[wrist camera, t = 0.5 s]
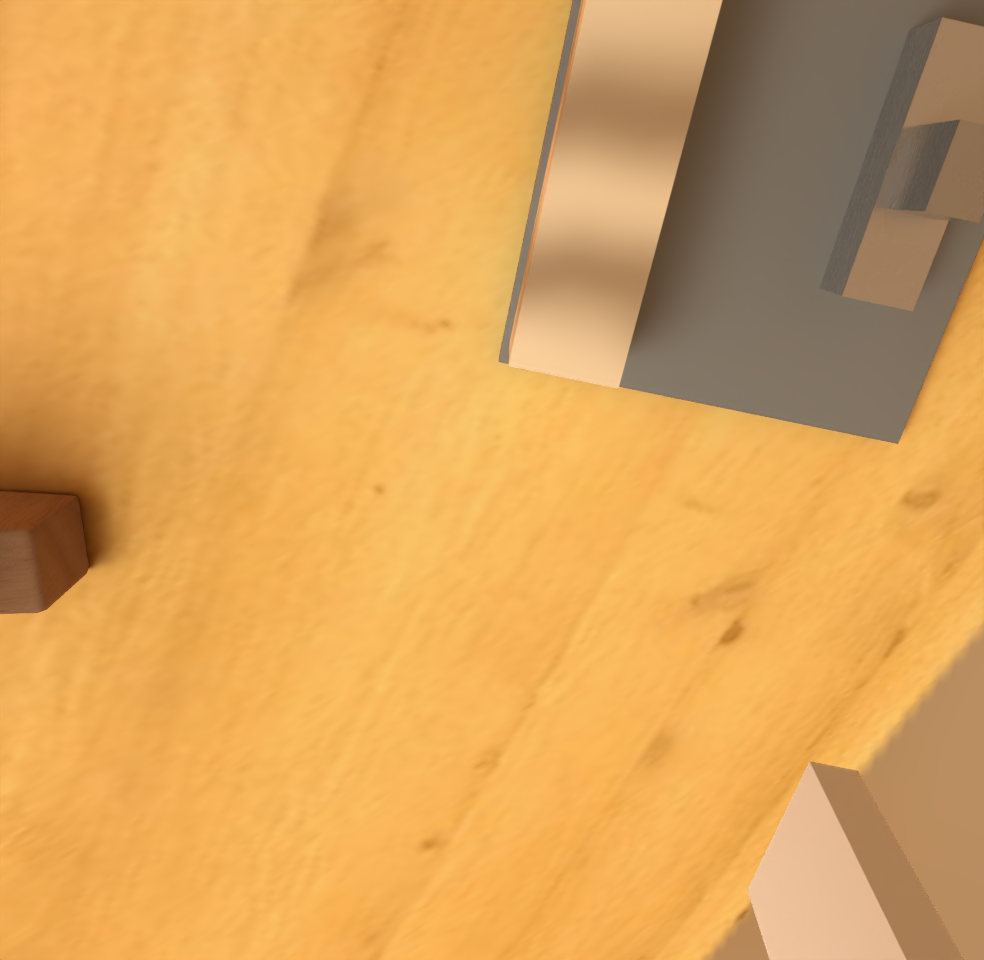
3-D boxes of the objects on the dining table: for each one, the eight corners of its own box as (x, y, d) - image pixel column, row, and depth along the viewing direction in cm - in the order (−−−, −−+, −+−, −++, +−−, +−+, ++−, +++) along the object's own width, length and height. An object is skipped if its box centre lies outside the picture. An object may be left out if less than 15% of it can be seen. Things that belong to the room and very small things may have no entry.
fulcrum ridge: (908, 30, 30) (991, -2, 25) (982, 47, 30) (1079, 19, 25) (819, 288, 33) (874, 307, 28) (885, 302, 34) (952, 323, 28)
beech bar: (624, -205, 27) (646, -285, 23) (743, -177, 28) (789, -250, 23) (509, 341, 35) (508, 366, 30) (604, 361, 35) (618, 388, 30)
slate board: (619, -228, 28) (623, -242, 27) (1111, -109, 29) (1131, -119, 28) (499, 357, 36) (498, 361, 35) (888, 437, 37) (897, 443, 36)
